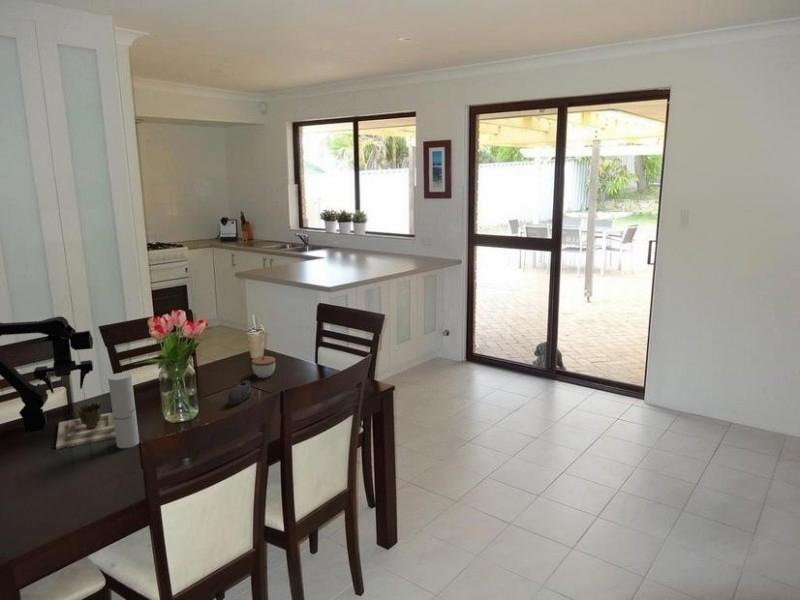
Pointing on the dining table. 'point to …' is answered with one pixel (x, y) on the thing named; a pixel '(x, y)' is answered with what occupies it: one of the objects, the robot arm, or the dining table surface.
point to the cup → (90, 415)
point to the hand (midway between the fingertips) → (67, 390)
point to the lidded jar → (263, 366)
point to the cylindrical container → (123, 410)
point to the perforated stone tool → (239, 393)
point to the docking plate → (79, 429)
